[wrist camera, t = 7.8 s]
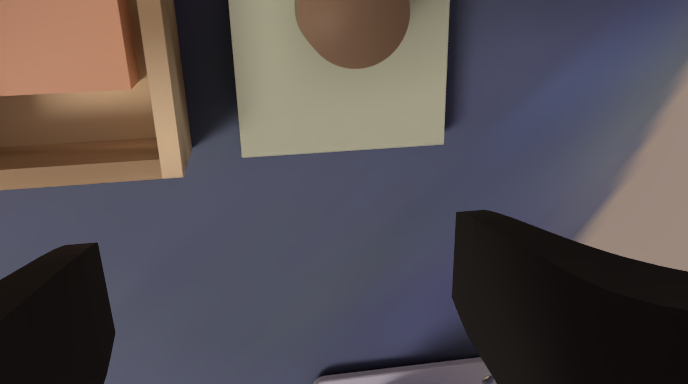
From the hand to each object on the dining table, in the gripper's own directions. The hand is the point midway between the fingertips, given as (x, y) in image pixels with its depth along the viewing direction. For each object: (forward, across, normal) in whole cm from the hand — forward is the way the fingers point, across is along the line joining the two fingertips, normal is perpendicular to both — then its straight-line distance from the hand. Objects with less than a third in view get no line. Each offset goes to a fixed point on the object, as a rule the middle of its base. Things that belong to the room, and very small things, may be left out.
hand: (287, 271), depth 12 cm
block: (+9, +6, -4) cm, 12 cm away
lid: (+10, -2, -4) cm, 11 cm away
